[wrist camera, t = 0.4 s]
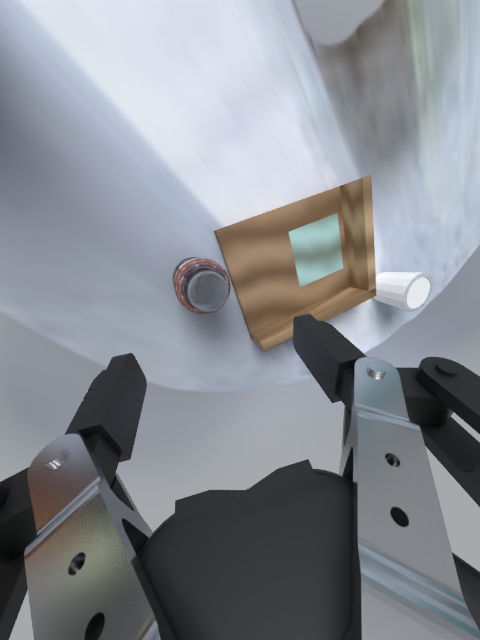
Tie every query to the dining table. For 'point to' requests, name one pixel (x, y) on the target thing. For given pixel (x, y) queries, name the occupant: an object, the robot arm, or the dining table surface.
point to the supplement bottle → (201, 285)
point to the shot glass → (403, 289)
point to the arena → (302, 260)
